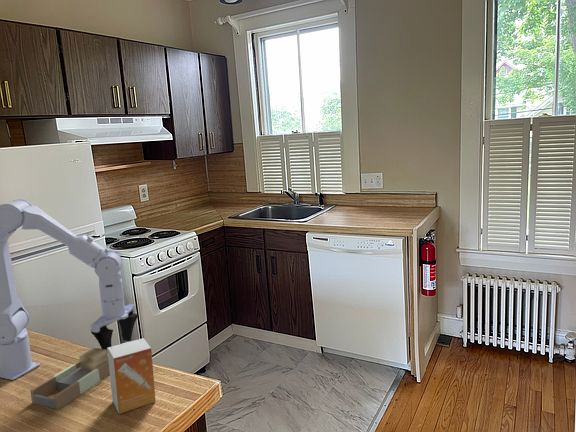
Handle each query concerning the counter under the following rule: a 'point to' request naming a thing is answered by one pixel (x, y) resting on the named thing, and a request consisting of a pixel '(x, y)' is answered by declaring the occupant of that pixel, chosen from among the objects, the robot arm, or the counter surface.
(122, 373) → the small box
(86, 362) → the maple block
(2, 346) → the robot arm
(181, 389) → the counter surface
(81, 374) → the board
